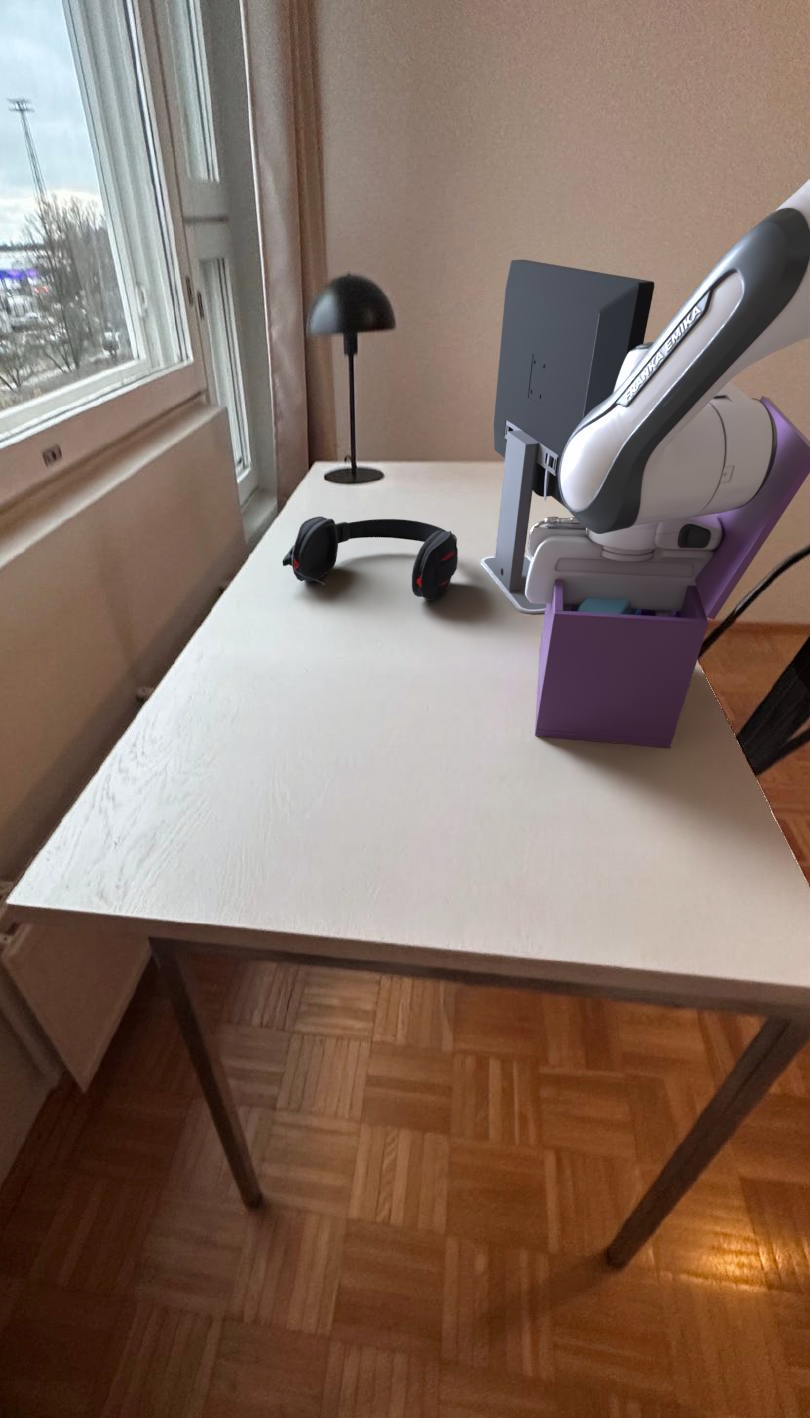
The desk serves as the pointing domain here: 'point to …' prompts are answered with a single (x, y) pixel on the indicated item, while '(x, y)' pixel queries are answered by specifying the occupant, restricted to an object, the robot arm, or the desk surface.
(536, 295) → the computer monitor
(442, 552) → the headset
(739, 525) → the lid
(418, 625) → the desk surface
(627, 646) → the file box
